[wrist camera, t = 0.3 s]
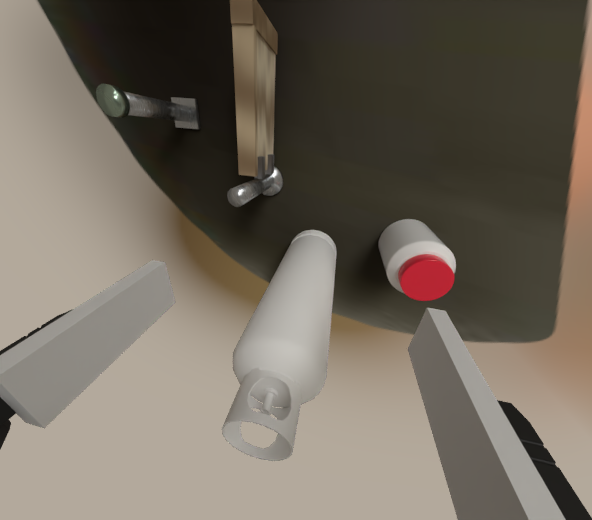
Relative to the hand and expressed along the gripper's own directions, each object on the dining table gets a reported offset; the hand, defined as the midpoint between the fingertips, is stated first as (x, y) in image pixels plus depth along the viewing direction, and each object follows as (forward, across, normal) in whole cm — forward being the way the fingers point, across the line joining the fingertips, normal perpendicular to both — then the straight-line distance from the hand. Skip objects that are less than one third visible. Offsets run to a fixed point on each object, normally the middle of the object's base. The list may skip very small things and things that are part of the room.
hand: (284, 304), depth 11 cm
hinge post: (+26, -9, +1) cm, 27 cm away
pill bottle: (+26, +13, -6) cm, 30 cm away
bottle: (+26, -1, -10) cm, 28 cm away
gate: (+25, -9, +10) cm, 28 cm away
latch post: (+26, -21, +9) cm, 35 cm away
